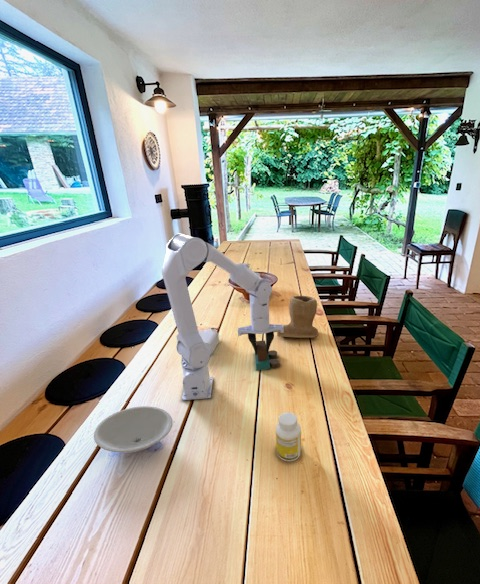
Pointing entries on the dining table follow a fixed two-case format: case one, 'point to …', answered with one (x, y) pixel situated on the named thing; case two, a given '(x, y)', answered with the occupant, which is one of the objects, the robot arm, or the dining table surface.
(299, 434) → the supplement bottle
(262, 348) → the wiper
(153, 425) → the dish
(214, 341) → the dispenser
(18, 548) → the dining table surface
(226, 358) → the dining table surface
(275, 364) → the crumb
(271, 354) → the crumb
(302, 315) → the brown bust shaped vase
